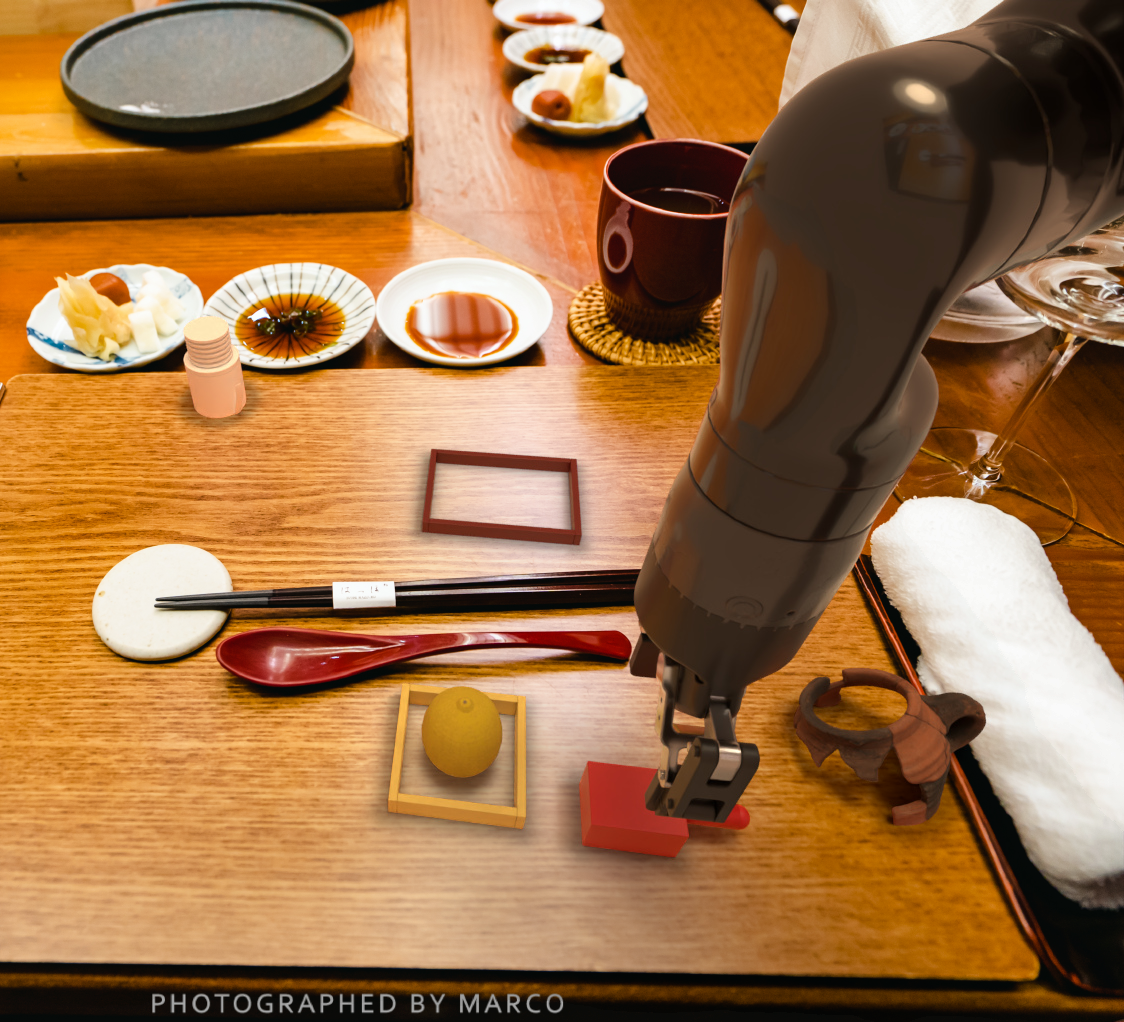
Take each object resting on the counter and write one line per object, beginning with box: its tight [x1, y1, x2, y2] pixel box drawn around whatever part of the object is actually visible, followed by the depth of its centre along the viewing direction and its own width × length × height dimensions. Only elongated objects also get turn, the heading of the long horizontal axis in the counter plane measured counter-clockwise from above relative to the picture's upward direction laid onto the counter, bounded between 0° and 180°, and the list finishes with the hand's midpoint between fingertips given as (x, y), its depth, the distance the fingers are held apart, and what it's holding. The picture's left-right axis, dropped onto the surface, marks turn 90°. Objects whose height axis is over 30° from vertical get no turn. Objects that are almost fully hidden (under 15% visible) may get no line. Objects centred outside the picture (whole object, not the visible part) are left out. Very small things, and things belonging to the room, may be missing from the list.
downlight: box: [182, 315, 247, 419], centre depth 85 cm, size 8×7×10 cm
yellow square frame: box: [387, 682, 527, 830], centre depth 57 cm, size 9×9×2 cm
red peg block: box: [578, 760, 751, 858], centre depth 53 cm, size 10×4×4 cm, turn 82°
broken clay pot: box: [793, 667, 987, 826], centre depth 55 cm, size 12×10×8 cm
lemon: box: [421, 685, 503, 779], centre depth 55 cm, size 6×6×8 cm
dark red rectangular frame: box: [421, 448, 583, 546], centre depth 75 cm, size 14×10×2 cm
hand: (654, 735), depth 46 cm, fingers open, 8 cm apart
